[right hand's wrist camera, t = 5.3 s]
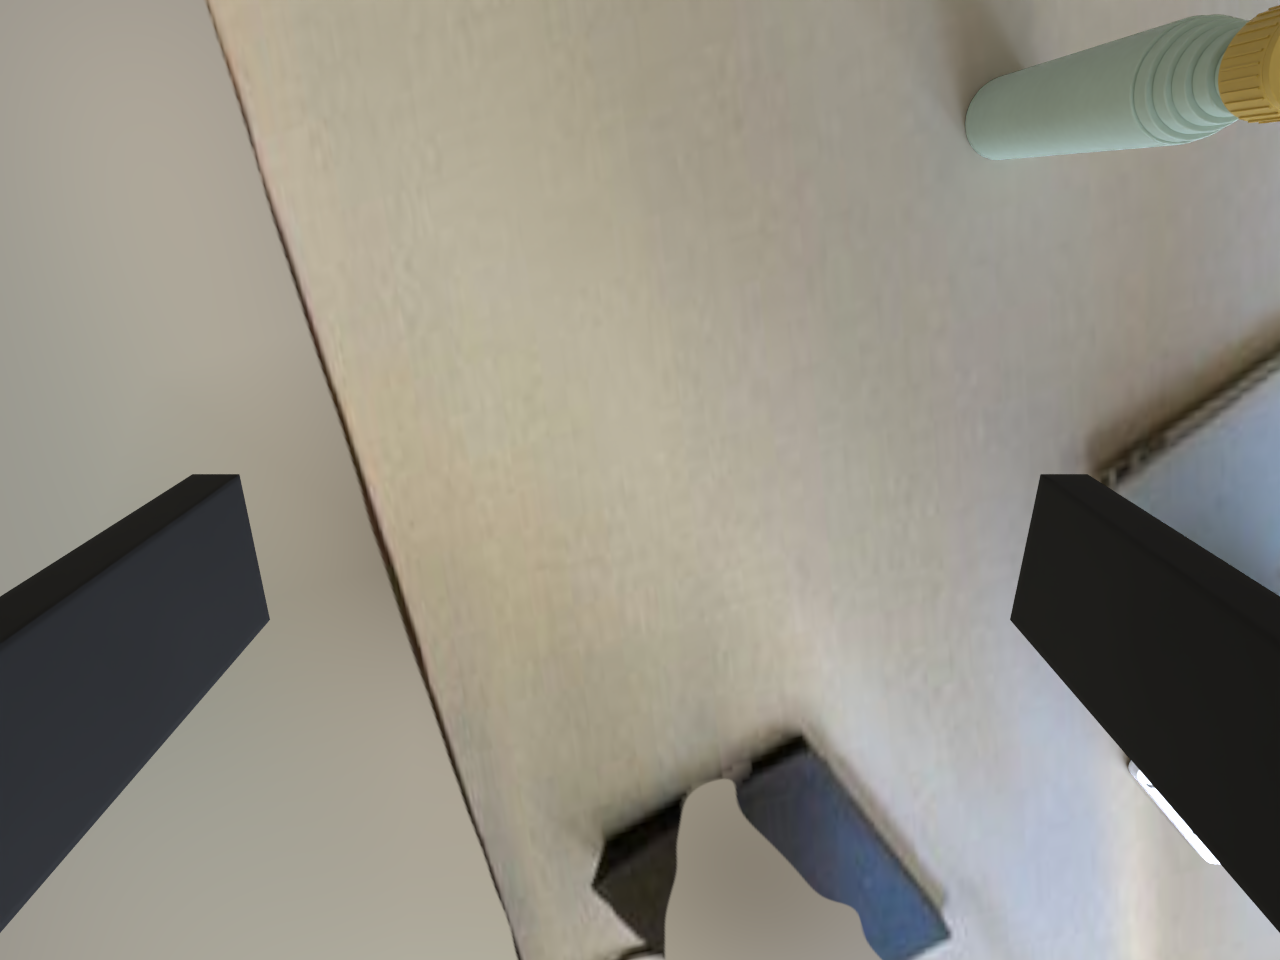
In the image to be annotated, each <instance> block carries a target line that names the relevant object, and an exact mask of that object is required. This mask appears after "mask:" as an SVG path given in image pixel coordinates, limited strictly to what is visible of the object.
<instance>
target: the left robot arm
mask: <svg viewBox="0 0 1280 960" xmlns="http://www.w3.org/2000/svg"><path fill="white" fill-rule="evenodd" d="M1128 769H1129V771H1130V773H1131V774H1132V775H1133V777H1134V778H1135V779H1136V780H1137V781H1138V783H1139V784H1140V785H1141V786H1142V787H1143V789H1144V790H1145V791H1146V792H1147V793H1148V795H1149V796H1150V797H1151V798H1152V799H1153V800H1154V802H1155V803H1156V804H1157V805H1158V806H1159V808H1160V809H1161V810H1162V811H1163V812H1164V814H1165V815H1166V816H1167V817H1168V818H1169V819H1170V821H1171V822H1172V823H1173V824H1174V825H1175V827H1176V828H1177V829H1178V830H1179V831H1180V833H1181V834H1182V835H1183V836H1184V837H1185V838H1186V840H1187V841H1188V842H1189V843H1190V844H1191V846H1192V847H1193V848H1194V849H1195V850H1196V851H1197V853H1198V854H1199V855H1200V856H1201V857H1203V858H1204V859H1205V860H1206V861H1207V862H1208V863H1211V864H1220V863H1219V862H1218V860H1217V859H1216V858H1215V857H1214V856H1213V855H1212V853H1211V852H1210V851H1209V850H1208V849H1207V848H1206V846H1205V845H1204V844H1203V843H1202V842H1201V841H1200V839H1199V838H1198V837H1197V836H1196V835H1195V834H1194V833H1193V831H1192V830H1191V829H1190V828H1189V827H1188V826H1187V824H1186V823H1185V822H1184V821H1183V820H1182V819H1181V817H1180V816H1179V815H1178V814H1177V813H1176V812H1175V810H1174V809H1173V808H1172V807H1171V806H1170V805H1169V803H1168V802H1167V801H1166V800H1165V799H1164V798H1163V797H1162V795H1161V794H1160V793H1159V792H1158V791H1157V790H1156V788H1155V787H1154V786H1153V785H1152V784H1151V783H1150V781H1149V780H1148V779H1147V778H1146V777H1145V776H1144V774H1143V773H1142V772H1141V771H1140V770H1139V769H1138V768H1137V766H1136V765H1135V764H1134V763H1133V762H1132V761H1130V763H1129V766H1128Z"/></svg>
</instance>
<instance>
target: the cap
mask: <svg viewBox="0 0 1280 960" xmlns="http://www.w3.org/2000/svg"><path fill="white" fill-rule="evenodd" d="M1218 89H1219V94H1220V97H1221V100H1222V102H1223V104H1224V105H1225V107H1226V108H1227V109H1228V111H1229V112H1230V113H1231V114H1233V115H1234V116H1236V117H1238V119H1242V120H1245V121H1248V123H1252V122H1259V123H1269V122H1278V121H1280V5H1279V6H1275V7H1272V8H1269V10H1268V11H1266V12H1263V13H1260V14H1258V15H1257V16H1256V17H1255V18H1253V19H1252V20H1250V21H1249V22H1247V23H1246V25H1244V26H1243V27H1242V28H1241V30H1240V31H1239V32H1238V33H1237V34H1236V35H1235V36H1234V38H1233V39H1232V41H1231V42H1230V44H1229V45H1228V47H1227V49H1226V51H1225V53H1224V55H1223V58H1222V60H1221V64H1220V68H1219V74H1218Z"/></svg>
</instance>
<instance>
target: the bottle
mask: <svg viewBox="0 0 1280 960" xmlns="http://www.w3.org/2000/svg"><path fill="white" fill-rule="evenodd" d="M1247 22H1249V21H1246V20H1243V19H1239V18H1233V17H1231V16H1226V15H1200V16H1193V17H1189V18H1185V19H1182V20H1179V21H1176V22H1172V23H1169V24H1166V25H1163V26H1160V27H1157V28H1153V29H1150V30H1147V31H1144V32H1141V33H1137V34H1134V35H1131V36H1128V37H1125V38H1122V39H1118V40H1115V41H1112V42H1109V43H1106V44H1103V45H1099V46H1096V47H1093V48H1090V49H1087V50H1083V51H1080V52H1077V53H1074V54H1071V55H1068V56H1064V57H1061V58H1058V59H1055V60H1052V61H1048V62H1045V63H1042V64H1039V65H1036V66H1033V67H1029V68H1026V69H1023V70H1020V71H1017V72H1013V73H1010V74H1007V75H1004V76H1001V77H998V78H995V79H993V80H992V81H990V82H988V83H987V84H985V85H984V86H983V87H982V88H981V89H980V90H979V91H978V92H977V94H976V95H975V96H974V98H973V100H972V101H971V103H970V106H969V108H968V111H967V115H966V122H965V128H966V135H967V138H968V141H969V143H970V145H971V146H972V148H973V149H974V150H975V151H976V152H977V153H978V154H980V155H981V156H983V157H985V158H988V159H992V160H1004V159H1016V158H1028V157H1040V156H1052V155H1064V154H1076V153H1088V152H1100V151H1112V150H1124V149H1136V148H1148V147H1160V146H1172V145H1182V144H1186V143H1190V142H1193V141H1196V140H1198V139H1203V138H1205V137H1208V136H1211V135H1213V134H1215V133H1217V132H1218V131H1220V130H1221V129H1223V128H1225V127H1227V126H1229V125H1230V124H1232V123H1233V122H1235V121H1237V120H1239V119H1238V117H1236V116H1234V115H1233V114H1231V113H1230V112H1229V111H1228V109H1227V108H1226V107H1225V105H1224V104H1223V102H1222V100H1221V97H1220V94H1219V89H1218V74H1219V68H1220V64H1221V60H1222V58H1223V55H1224V53H1225V51H1226V49H1227V47H1228V45H1229V44H1230V42H1231V41H1232V39H1233V38H1234V36H1235V35H1236V34H1237V33H1238V32H1239V31H1240V30H1241V28H1242V27H1243V26H1244V25H1246V23H1247Z"/></svg>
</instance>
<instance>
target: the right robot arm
mask: <svg viewBox="0 0 1280 960" xmlns="http://www.w3.org/2000/svg"><path fill="white" fill-rule="evenodd" d="M269 620H270V618H269V614H268V609H267V604H266V599H265V595H264V590H263V585H262V580H261V575H260V571H259V566H258V561H257V556H256V552H255V547H254V542H253V537H252V533H251V528H250V523H249V518H248V513H247V509H246V504H245V499H244V494H243V490H242V485H241V480H240V476H239V474H193V475H191V476H189V477H188V478H186V479H185V480H183V481H181V482H180V483H178V484H177V485H175V486H174V487H172V488H170V489H169V490H167V491H166V492H164V493H163V494H161V495H159V496H158V497H156V498H155V499H153V500H152V501H150V502H148V503H147V504H145V505H144V506H142V507H141V508H139V509H137V510H136V511H134V512H133V513H131V514H130V515H128V516H126V517H125V518H123V519H122V520H120V521H119V522H117V523H115V524H114V525H112V526H111V527H109V528H108V529H106V530H104V531H103V532H101V533H100V534H98V535H96V536H95V537H93V538H92V539H90V540H89V541H87V542H86V543H84V544H82V545H81V546H79V547H78V548H76V549H75V550H73V551H71V552H70V553H68V554H67V555H65V556H63V557H62V558H60V559H59V560H57V561H56V562H54V563H52V564H51V565H49V566H48V567H46V568H45V569H43V570H41V571H40V572H38V573H37V574H35V575H34V576H32V577H30V578H29V579H27V580H26V581H24V582H23V583H21V584H20V585H18V586H16V587H15V588H13V589H12V590H10V591H8V592H7V593H5V594H4V595H2V596H1V597H0V932H1V931H2V930H3V929H4V928H5V927H6V925H7V924H8V923H9V922H10V921H11V920H12V918H13V917H14V916H15V915H16V914H17V913H18V911H19V910H20V909H21V908H22V907H23V906H24V904H25V903H26V902H27V901H28V900H29V899H30V897H31V896H32V895H33V894H34V893H35V892H36V891H37V889H38V888H39V887H40V886H41V885H42V884H43V882H44V881H45V880H46V879H47V878H48V877H49V875H50V874H51V873H52V872H53V871H54V870H55V869H56V867H57V866H58V865H59V864H60V863H61V862H62V860H63V859H64V858H65V857H66V856H67V854H68V853H69V852H70V851H71V850H72V849H73V848H74V846H75V845H76V844H77V843H78V842H79V841H80V839H81V838H82V837H83V836H84V835H85V834H86V833H87V831H88V830H89V829H90V828H91V827H92V826H93V824H94V823H95V822H96V821H97V820H98V819H99V817H100V816H101V815H102V814H103V813H104V812H105V810H106V809H107V808H108V807H109V806H110V805H111V803H112V802H113V801H114V800H115V799H116V798H117V797H118V795H119V794H120V793H121V792H122V791H123V789H124V788H125V787H126V786H127V785H128V784H129V783H130V781H131V780H132V779H133V778H134V777H135V776H136V774H137V773H138V772H139V771H140V770H141V769H142V768H143V766H144V765H145V764H146V763H147V762H148V761H149V759H150V758H151V757H152V756H153V755H154V754H155V752H156V751H157V750H158V749H159V748H160V747H161V745H162V744H163V743H164V742H165V741H166V740H167V738H168V737H169V736H170V735H171V734H172V733H173V731H174V730H175V729H176V728H177V727H178V726H179V724H180V723H181V722H182V721H183V720H184V719H185V718H186V716H187V715H188V714H189V713H190V712H191V711H192V709H193V708H194V707H195V706H196V705H197V704H198V703H199V701H200V700H201V699H202V698H203V697H204V695H205V694H206V693H207V692H208V691H209V690H210V688H211V687H212V686H213V685H214V684H215V683H216V682H217V680H218V679H219V678H220V677H221V676H222V675H223V673H224V672H225V671H226V670H227V669H228V668H229V667H230V665H231V664H232V663H233V662H234V661H235V660H236V658H237V657H238V656H239V655H240V654H241V653H242V651H243V650H244V649H245V648H246V647H247V646H248V644H249V643H250V642H251V641H252V640H253V639H254V637H255V636H256V635H257V634H258V633H259V632H260V630H261V629H262V628H263V627H264V626H265V625H266V624H267V622H268V621H269ZM1010 620H1011V621H1012V622H1013V624H1014V625H1015V626H1016V627H1017V628H1018V629H1019V631H1020V632H1021V633H1022V634H1023V635H1024V636H1025V637H1026V639H1027V640H1028V641H1029V642H1030V643H1031V644H1032V646H1033V647H1034V648H1035V649H1036V650H1037V651H1038V653H1039V654H1040V655H1041V656H1042V657H1043V658H1044V660H1045V661H1046V662H1047V663H1048V664H1049V665H1050V667H1051V668H1052V669H1053V670H1054V671H1055V672H1056V673H1057V675H1058V676H1059V677H1060V678H1061V679H1062V680H1063V682H1064V683H1065V684H1066V685H1067V686H1068V687H1069V689H1070V690H1071V691H1072V692H1073V693H1074V694H1075V696H1076V697H1077V698H1078V699H1079V700H1080V701H1081V703H1082V704H1083V705H1084V706H1085V707H1086V708H1087V709H1088V711H1089V712H1090V713H1091V714H1092V715H1093V716H1094V718H1095V719H1096V720H1097V721H1098V722H1099V723H1100V725H1101V726H1102V727H1103V728H1104V729H1105V730H1106V732H1107V733H1108V734H1109V735H1110V736H1111V737H1112V738H1113V740H1114V741H1115V742H1116V743H1117V744H1118V745H1119V747H1120V748H1121V749H1122V750H1123V751H1124V752H1125V754H1126V755H1127V756H1128V757H1129V758H1130V759H1131V761H1132V762H1133V763H1134V764H1135V765H1136V766H1137V768H1138V769H1139V770H1140V771H1141V772H1142V773H1143V774H1144V776H1145V777H1146V778H1147V779H1148V780H1149V781H1150V783H1151V784H1152V785H1153V786H1154V787H1155V788H1156V790H1157V791H1158V792H1159V793H1160V794H1161V795H1162V797H1163V798H1164V799H1165V800H1166V801H1167V802H1168V803H1169V805H1170V806H1171V807H1172V808H1173V809H1174V810H1175V812H1176V813H1177V814H1178V815H1179V816H1180V817H1181V819H1182V820H1183V821H1184V822H1185V823H1186V824H1187V826H1188V827H1189V828H1190V829H1191V830H1192V831H1193V833H1194V834H1195V835H1196V836H1197V837H1198V838H1199V839H1200V841H1201V842H1202V843H1203V844H1204V845H1205V846H1206V848H1207V849H1208V850H1209V851H1210V852H1211V853H1212V855H1213V856H1214V857H1215V858H1216V859H1217V860H1218V862H1219V863H1220V864H1221V865H1222V866H1223V867H1224V869H1225V870H1226V871H1227V872H1228V873H1229V874H1230V875H1231V877H1232V878H1233V879H1234V880H1235V881H1236V882H1237V884H1238V885H1239V886H1240V887H1241V888H1242V889H1243V891H1244V892H1245V893H1246V894H1247V895H1248V896H1249V898H1250V899H1251V900H1252V901H1253V902H1254V903H1255V904H1256V906H1257V907H1258V908H1259V909H1260V910H1261V911H1262V913H1263V914H1264V915H1265V916H1266V917H1267V918H1268V920H1269V921H1270V922H1271V923H1272V924H1273V925H1274V927H1275V928H1276V929H1277V930H1278V931H1279V932H1280V597H1279V596H1278V595H1276V594H1275V593H1273V592H1272V591H1270V590H1268V589H1267V588H1265V587H1264V586H1262V585H1261V584H1259V583H1257V582H1256V581H1254V580H1253V579H1251V578H1250V577H1248V576H1246V575H1245V574H1243V573H1242V572H1240V571H1239V570H1237V569H1235V568H1234V567H1232V566H1231V565H1229V564H1228V563H1226V562H1224V561H1223V560H1221V559H1220V558H1218V557H1217V556H1215V555H1213V554H1212V553H1210V552H1209V551H1207V550H1206V549H1204V548H1202V547H1201V546H1199V545H1198V544H1196V543H1195V542H1193V541H1191V540H1190V539H1188V538H1187V537H1185V536H1184V535H1182V534H1180V533H1179V532H1177V531H1176V530H1174V529H1173V528H1171V527H1169V526H1168V525H1166V524H1165V523H1163V522H1161V521H1160V520H1158V519H1157V518H1155V517H1154V516H1152V515H1150V514H1149V513H1147V512H1146V511H1144V510H1143V509H1141V508H1139V507H1138V506H1136V505H1135V504H1133V503H1132V502H1130V501H1128V500H1127V499H1125V498H1124V497H1122V496H1121V495H1119V494H1117V493H1116V492H1114V491H1113V490H1111V489H1110V488H1108V487H1106V486H1105V485H1103V484H1102V483H1100V482H1099V481H1097V480H1095V479H1094V478H1092V477H1091V476H1089V475H1088V474H1041V475H1040V480H1039V485H1038V490H1037V494H1036V499H1035V504H1034V509H1033V513H1032V518H1031V523H1030V528H1029V533H1028V537H1027V542H1026V547H1025V552H1024V556H1023V561H1022V566H1021V571H1020V575H1019V580H1018V585H1017V590H1016V595H1015V599H1014V604H1013V609H1012V614H1011V618H1010Z"/></svg>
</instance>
